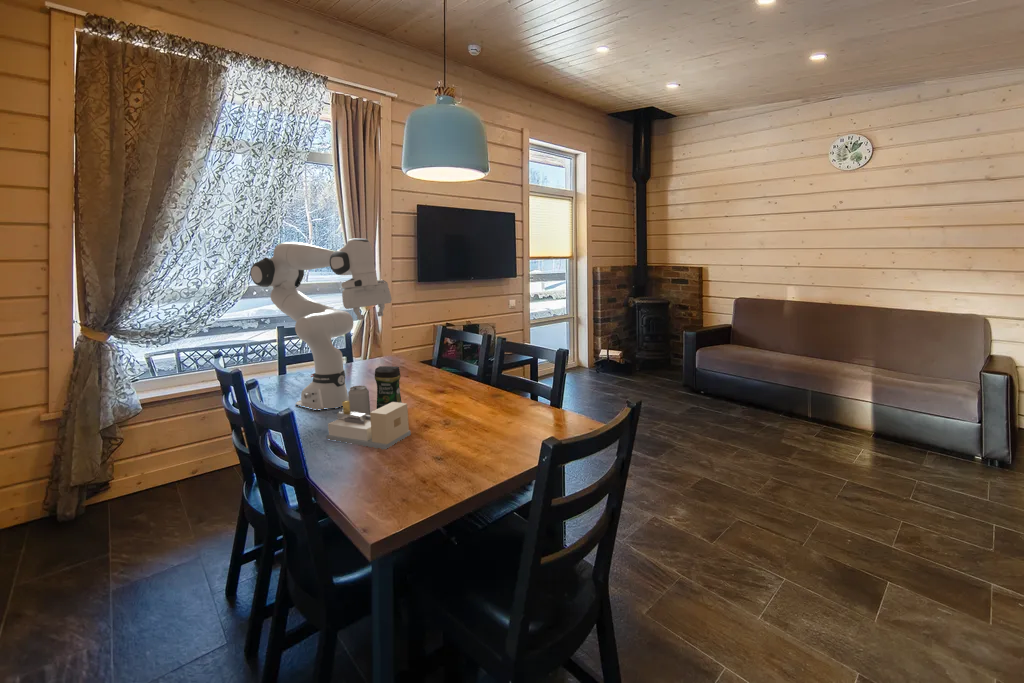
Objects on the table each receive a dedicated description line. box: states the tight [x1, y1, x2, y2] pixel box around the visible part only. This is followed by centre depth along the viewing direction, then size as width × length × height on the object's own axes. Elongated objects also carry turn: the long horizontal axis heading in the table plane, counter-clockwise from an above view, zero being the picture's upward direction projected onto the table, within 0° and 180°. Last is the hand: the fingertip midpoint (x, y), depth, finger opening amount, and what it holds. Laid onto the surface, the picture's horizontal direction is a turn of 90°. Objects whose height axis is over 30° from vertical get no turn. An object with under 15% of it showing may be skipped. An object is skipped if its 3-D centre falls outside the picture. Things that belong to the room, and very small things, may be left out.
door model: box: [326, 402, 412, 450], centre depth 166 cm, size 24×14×12 cm, turn 68°
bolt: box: [336, 401, 366, 420], centre depth 168 cm, size 10×3×6 cm, turn 68°
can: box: [347, 385, 371, 415], centre depth 187 cm, size 8×8×12 cm
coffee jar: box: [374, 365, 403, 409], centre depth 192 cm, size 10×8×19 cm
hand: (370, 317), depth 186 cm, fingers open, 8 cm apart
